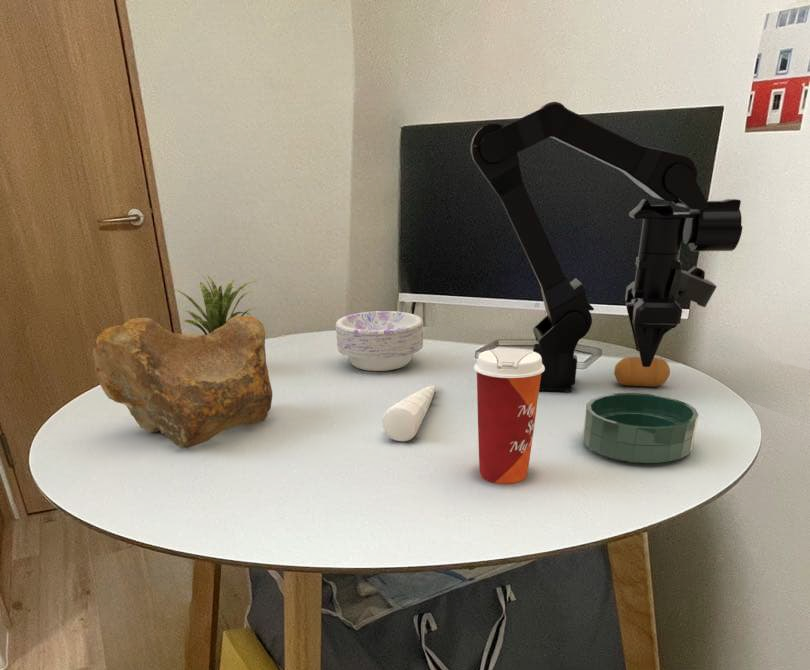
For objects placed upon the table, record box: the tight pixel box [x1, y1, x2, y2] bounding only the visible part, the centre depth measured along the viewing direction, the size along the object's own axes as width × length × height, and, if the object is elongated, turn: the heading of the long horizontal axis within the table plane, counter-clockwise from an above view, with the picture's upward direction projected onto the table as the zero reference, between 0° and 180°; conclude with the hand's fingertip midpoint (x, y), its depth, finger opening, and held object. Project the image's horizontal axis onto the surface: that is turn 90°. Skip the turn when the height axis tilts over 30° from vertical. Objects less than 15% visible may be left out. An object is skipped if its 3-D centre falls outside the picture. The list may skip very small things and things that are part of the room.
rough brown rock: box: [92, 315, 273, 449], centre depth 94 cm, size 23×17×15 cm
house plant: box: [173, 275, 258, 335], centre depth 119 cm, size 14×14×16 cm
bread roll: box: [613, 356, 671, 388], centre depth 111 cm, size 8×4×4 cm, turn 79°
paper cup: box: [473, 347, 545, 485], centre depth 80 cm, size 8×8×14 cm
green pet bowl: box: [582, 392, 699, 464], centre depth 88 cm, size 13×13×5 cm
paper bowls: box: [335, 310, 424, 372], centre depth 124 cm, size 15×15×8 cm
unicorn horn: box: [382, 384, 437, 443], centre depth 101 cm, size 5×24×5 cm, turn 163°
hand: (643, 358), depth 110 cm, fingers open, 9 cm apart
